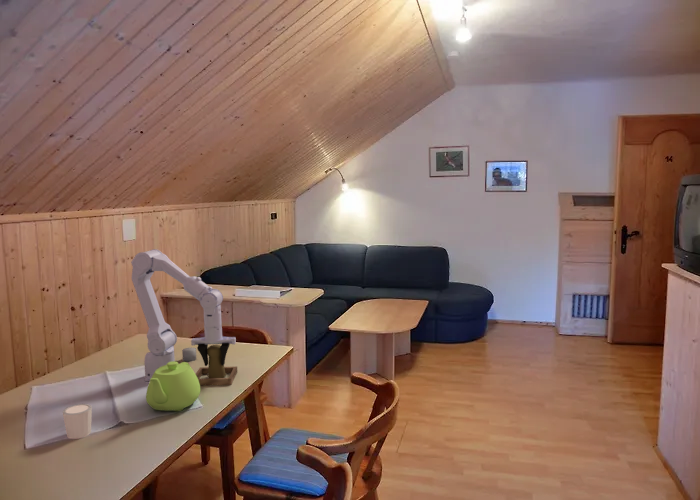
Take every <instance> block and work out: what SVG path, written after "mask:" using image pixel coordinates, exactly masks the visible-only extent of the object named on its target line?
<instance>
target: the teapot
mask: <svg viewBox="0 0 700 500" xmlns="http://www.w3.org/2000/svg"><path fill="white" fill-rule="evenodd" d="M148 382H149V383H148V384H147V388H146V395H145V401H146V403H147V404H148V405H149V406H150V408H152V409H153V410H156V411H166V412H169V411H175V412H182V411H183V410H184V409H185V408H187V407H189V406H191V405H192V404H194V403H195V402H196V401H197V400H198V398H199V396H200V394H201V386H200V384H199V380H198V378H197V376H196V372H195V371H194V369H193V368H192V367H191V365H190V364H189V362H184V361H182V362H180V363H179V362H178V361H176V360H175V361H172V362H168V363H167V365H164V366H162V367H160V368H158V369H157V370H156V371H155V372H154V374H153V376H152V378H151V379H150V381H148Z"/></svg>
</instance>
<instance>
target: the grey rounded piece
mask: <svg viewBox="0 0 700 500" xmlns="http://www.w3.org/2000/svg"><path fill="white" fill-rule="evenodd" d="M181 352H182V354H181V355H182V362H187V363H189V362H190V363H191V362H195V361H197V358H198V357H197V347H185V348H183V349H181Z"/></svg>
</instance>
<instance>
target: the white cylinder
mask: <svg viewBox="0 0 700 500" xmlns="http://www.w3.org/2000/svg"><path fill="white" fill-rule="evenodd" d="M92 410H93V406H92V405H91V404H88V403H80V404H75V405H72V406H68V407H66V408H65V409H63V411H62V416H63V422H64V426H65V431H66V432H65V433H66V437H67V438H68V439H69V440H78V439H83V438H85V437H87V436H89V435H90V434H91V433H92V414H93V413H92Z"/></svg>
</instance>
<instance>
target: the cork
mask: <svg viewBox="0 0 700 500" xmlns="http://www.w3.org/2000/svg"><path fill="white" fill-rule="evenodd" d="M220 346H221V344H210V345H209V346H208V349H207V354H208V365H207V367H208V374H207V379H208V378H226V376H227V373H225V369H224V367H225V364H224V365H223V366H222V365H221V350H220Z"/></svg>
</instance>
